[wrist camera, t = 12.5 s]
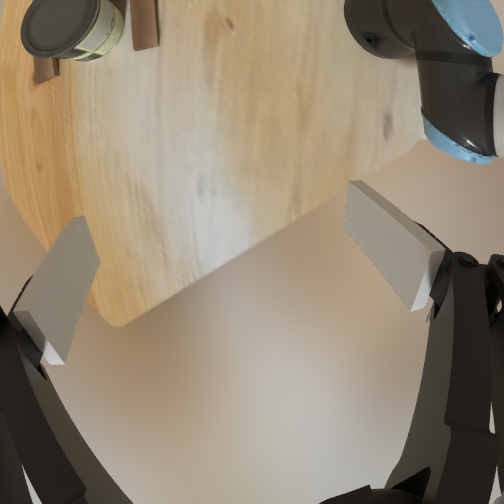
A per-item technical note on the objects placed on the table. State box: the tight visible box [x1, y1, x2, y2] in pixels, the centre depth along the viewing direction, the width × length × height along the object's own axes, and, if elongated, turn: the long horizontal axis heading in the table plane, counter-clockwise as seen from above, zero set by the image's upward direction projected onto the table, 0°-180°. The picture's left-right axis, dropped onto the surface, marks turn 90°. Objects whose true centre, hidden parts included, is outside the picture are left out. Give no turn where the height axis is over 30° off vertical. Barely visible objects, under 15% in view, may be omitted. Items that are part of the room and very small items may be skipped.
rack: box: [32, 0, 159, 84], centre depth 26 cm, size 20×16×4 cm
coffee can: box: [21, 0, 125, 62], centre depth 23 cm, size 10×10×14 cm
